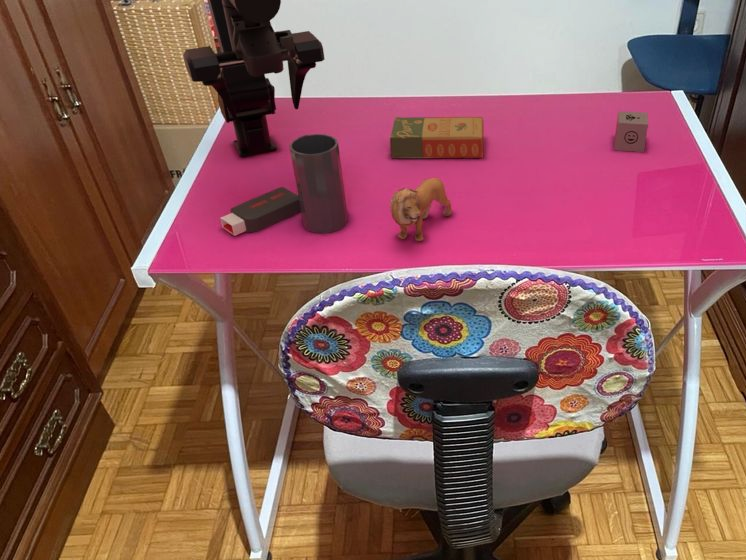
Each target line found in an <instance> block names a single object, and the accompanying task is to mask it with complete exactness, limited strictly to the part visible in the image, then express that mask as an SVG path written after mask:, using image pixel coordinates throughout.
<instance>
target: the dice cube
mask: <svg viewBox="0 0 746 560" xmlns="http://www.w3.org/2000/svg"><path fill="white" fill-rule="evenodd" d="M648 116H649V115H648V112H641V111H640V112H639V111H625V110H624V111H623V110H618V111H617V118H616V127H615V132H614V133H615V134H614V151H620V152H623V151H624V152H638V153H644V152H645V146H646V139H647V135H648V129H649V128H648V127H649V117H648Z"/></svg>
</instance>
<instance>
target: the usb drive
mask: <svg viewBox="0 0 746 560" xmlns="http://www.w3.org/2000/svg"><path fill="white" fill-rule="evenodd" d="M299 213H301V208H300V202H299V197H298V193H297V194H296V193H295V192H294V191H292V190H290V189H289V188H286V187H284V186H281V187H278V188H275V189H272V190H270V191H269V192H265V193H264V194H261V195H259V196H256V197H254V198H252V199H250V200H247V201H244V202H242V203H240V204H237V205H235V206H233V207H231V208H230V213H228V214H226V215H224V216H221V217H220V218H219V219H220V223H221V226H222V229H224V230H225V231H227V232H228V233H229V234H231V235H233V236H234V237H236V236H238V235H240V234H242V233H245V232H246V233H247V234H250V233H256V232H260V231H261V230H264V229H266V228H268V227H271V226H272V225H275V224H277V223H279V222H281V221H284V220H285V219H288V218H290V217H293V216H294V215H297V214H299Z"/></svg>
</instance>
